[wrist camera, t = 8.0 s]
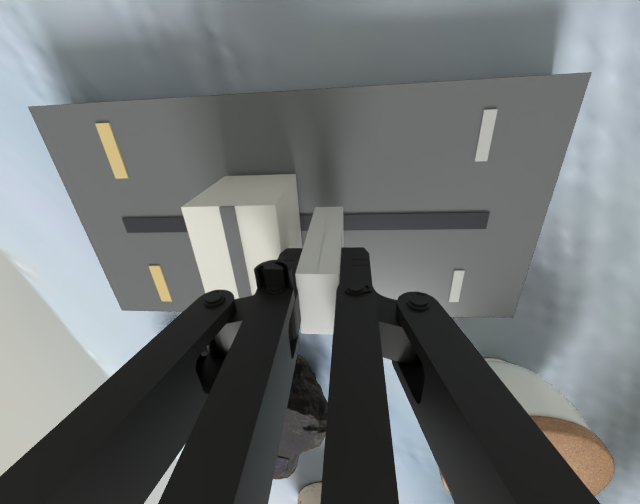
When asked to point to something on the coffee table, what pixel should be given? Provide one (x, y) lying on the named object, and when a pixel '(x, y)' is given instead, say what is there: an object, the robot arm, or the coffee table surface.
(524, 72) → the coffee table surface
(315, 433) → the rock sample
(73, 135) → the fader console
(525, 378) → the lidded jar
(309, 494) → the teacup with lid
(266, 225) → the fader knob
